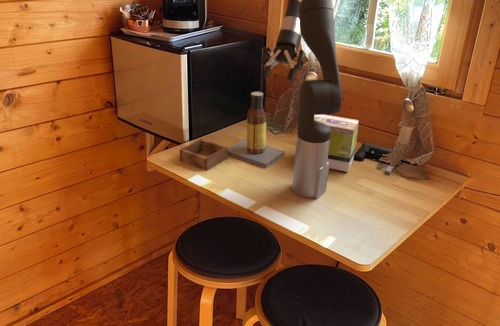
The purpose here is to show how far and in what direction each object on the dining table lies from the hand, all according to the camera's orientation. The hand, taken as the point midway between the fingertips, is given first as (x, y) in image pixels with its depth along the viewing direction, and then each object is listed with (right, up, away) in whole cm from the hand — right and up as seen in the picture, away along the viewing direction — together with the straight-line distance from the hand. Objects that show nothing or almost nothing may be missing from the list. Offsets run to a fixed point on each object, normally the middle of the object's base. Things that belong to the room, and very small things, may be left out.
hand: (277, 79), depth 158 cm
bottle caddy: (-24, -26, 0) cm, 35 cm away
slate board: (-7, -24, +5) cm, 26 cm away
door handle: (+36, -27, +5) cm, 45 cm away
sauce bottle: (-7, -23, +4) cm, 25 cm away
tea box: (+17, -27, +3) cm, 32 cm away
